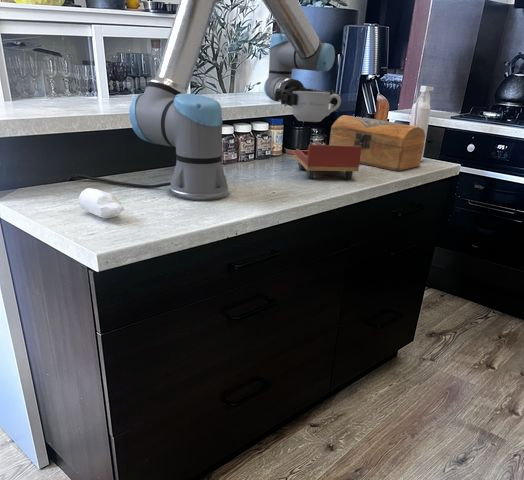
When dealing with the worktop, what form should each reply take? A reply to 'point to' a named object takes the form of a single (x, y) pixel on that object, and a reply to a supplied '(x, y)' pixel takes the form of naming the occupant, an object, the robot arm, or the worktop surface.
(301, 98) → the teacup
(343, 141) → the wooden box
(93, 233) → the worktop surface
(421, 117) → the white spray bottle
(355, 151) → the cart
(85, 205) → the roll
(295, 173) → the worktop surface
